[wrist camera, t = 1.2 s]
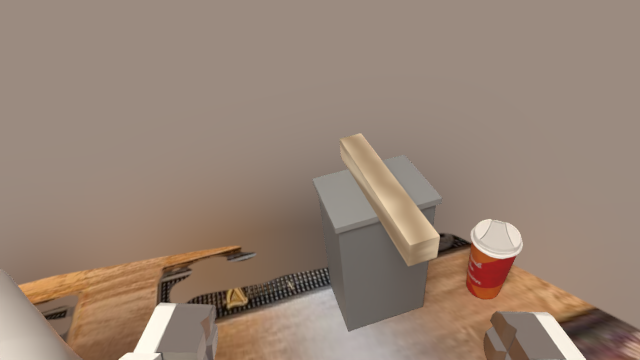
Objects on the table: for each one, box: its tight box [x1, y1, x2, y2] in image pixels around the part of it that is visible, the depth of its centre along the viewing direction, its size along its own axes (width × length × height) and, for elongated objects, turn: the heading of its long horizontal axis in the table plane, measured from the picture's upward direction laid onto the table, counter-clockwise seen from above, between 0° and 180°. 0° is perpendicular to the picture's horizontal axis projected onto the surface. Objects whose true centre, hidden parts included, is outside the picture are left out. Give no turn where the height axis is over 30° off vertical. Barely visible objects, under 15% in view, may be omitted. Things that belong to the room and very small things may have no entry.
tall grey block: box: [312, 155, 442, 331], centre depth 59 cm, size 15×11×26 cm
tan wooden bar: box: [340, 134, 440, 266], centre depth 48 cm, size 4×23×4 cm, turn 16°
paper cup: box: [466, 219, 523, 299], centre depth 62 cm, size 8×8×14 cm
